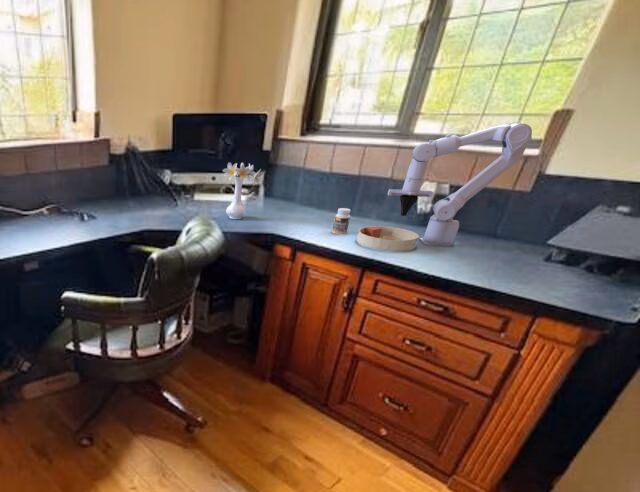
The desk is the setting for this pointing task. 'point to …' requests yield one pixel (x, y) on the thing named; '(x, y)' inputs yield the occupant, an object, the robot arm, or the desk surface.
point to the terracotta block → (373, 231)
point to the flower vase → (239, 187)
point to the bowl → (401, 243)
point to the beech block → (388, 237)
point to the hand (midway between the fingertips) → (403, 215)
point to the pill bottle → (341, 221)
